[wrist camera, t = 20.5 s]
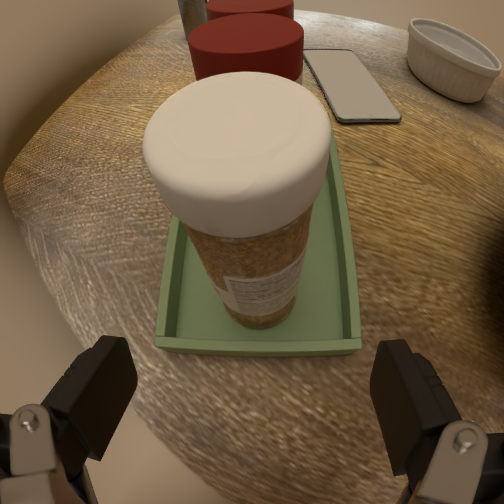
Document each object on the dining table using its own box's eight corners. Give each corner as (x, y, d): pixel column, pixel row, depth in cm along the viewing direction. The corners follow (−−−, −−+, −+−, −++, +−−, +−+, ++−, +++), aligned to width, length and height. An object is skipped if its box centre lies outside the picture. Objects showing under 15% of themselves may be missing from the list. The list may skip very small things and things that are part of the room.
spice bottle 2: (223, 233, 21) (172, 57, 9) (232, 180, 22) (201, 16, 11) (292, 237, 20) (306, 53, 8) (294, 182, 22) (301, 13, 10)
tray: (350, 354, 17) (362, 348, 15) (168, 352, 18) (153, 346, 16) (325, 134, 25) (328, 112, 23) (198, 137, 26) (193, 116, 23)
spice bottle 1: (228, 178, 23) (195, 15, 11) (236, 136, 25) (214, -7, 13) (289, 180, 22) (294, 11, 10) (290, 138, 24) (292, -10, 12)
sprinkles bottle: (219, 266, 20) (147, 83, 7) (289, 255, 20) (304, 59, 7) (227, 337, 18) (126, 210, 5) (303, 325, 18) (364, 174, 5)
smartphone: (351, 49, 31) (404, 119, 25) (351, 52, 32) (402, 123, 25) (300, 49, 31) (338, 120, 25) (300, 52, 32) (338, 124, 25)
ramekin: (404, 88, 28) (417, 40, 22) (395, 46, 33) (403, 8, 27) (495, 124, 26) (516, 84, 20) (471, 74, 31) (484, 40, 25)
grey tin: (183, 42, 36) (170, -14, 27) (189, 32, 37) (178, -20, 28) (209, 40, 35) (199, -19, 26) (214, 30, 37) (206, -24, 28)
